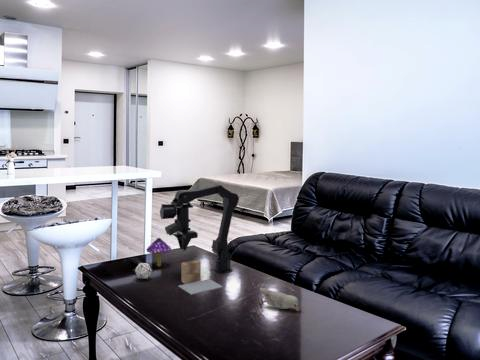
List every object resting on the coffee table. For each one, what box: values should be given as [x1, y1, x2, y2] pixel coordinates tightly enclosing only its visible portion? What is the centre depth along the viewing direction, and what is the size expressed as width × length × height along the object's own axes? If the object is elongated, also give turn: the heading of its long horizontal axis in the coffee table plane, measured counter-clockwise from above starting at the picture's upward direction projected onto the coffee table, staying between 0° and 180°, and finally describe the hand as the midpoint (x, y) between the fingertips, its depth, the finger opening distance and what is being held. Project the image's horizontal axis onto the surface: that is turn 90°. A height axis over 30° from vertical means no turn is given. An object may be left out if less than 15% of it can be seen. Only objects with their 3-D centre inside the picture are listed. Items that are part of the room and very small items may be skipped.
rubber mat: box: [178, 278, 224, 296], centre depth 183 cm, size 16×12×1 cm
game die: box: [132, 261, 155, 281], centre depth 192 cm, size 9×8×10 cm
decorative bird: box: [258, 287, 301, 313], centre depth 160 cm, size 5×16×8 cm, turn 70°
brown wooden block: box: [180, 259, 202, 285], centre depth 190 cm, size 8×4×9 cm, turn 125°
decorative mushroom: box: [146, 237, 172, 267], centre depth 211 cm, size 12×12×15 cm
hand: (182, 249), depth 195 cm, fingers open, 3 cm apart
